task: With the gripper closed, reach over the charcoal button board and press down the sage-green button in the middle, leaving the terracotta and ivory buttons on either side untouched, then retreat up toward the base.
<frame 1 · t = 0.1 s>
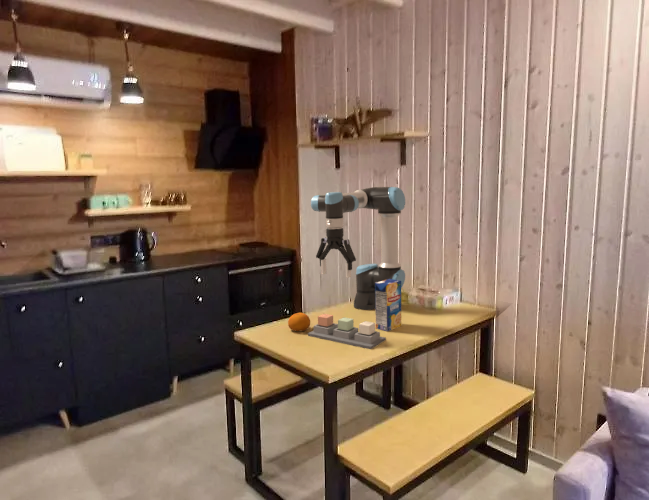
hand: (335, 275, 216), 28 cm above the table, fingers open, 13 cm apart
button board: (346, 337, 218), on the table
button ivory: (367, 327, 210), point 6 cm above the table, slide at 0.0 cm
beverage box: (388, 327, 231), on the table
button terracotta: (325, 320, 223), point 6 cm above the table, slide at 0.0 cm
button sage: (345, 323, 217), point 6 cm above the table, slide at 0.0 cm
fruit: (299, 330, 231), on the table
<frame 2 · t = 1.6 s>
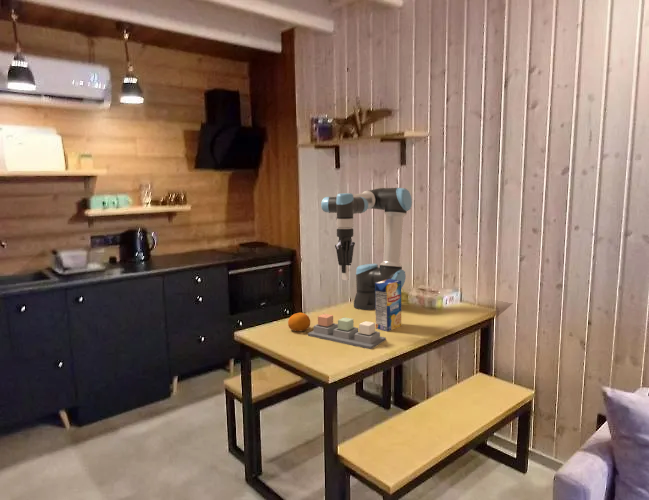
hand: (345, 279, 222), 25 cm above the table, fingers closed
nothing on the table moved.
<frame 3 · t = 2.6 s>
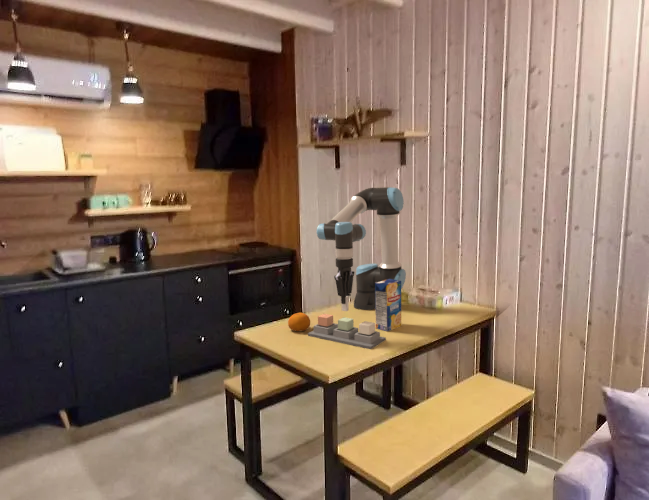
hand: (345, 310, 215), 13 cm above the table, fingers closed
nothing on the table moved.
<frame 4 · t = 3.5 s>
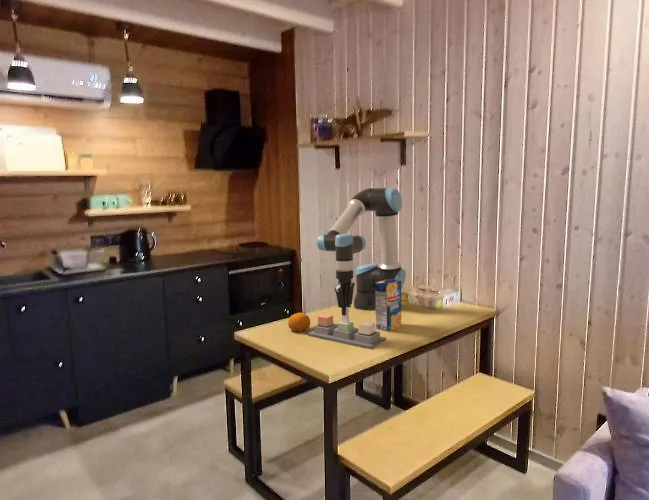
hand: (345, 321, 216), 8 cm above the table, fingers closed
button sage: (345, 326, 217), point 5 cm above the table, slide at 1.2 cm, touching gripper
everything else where it was.
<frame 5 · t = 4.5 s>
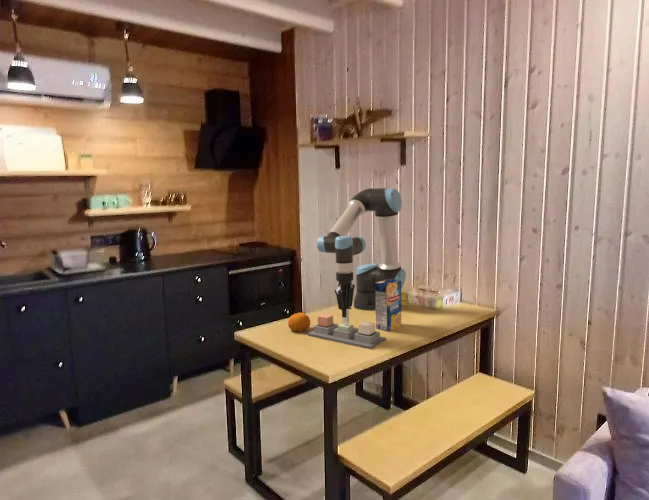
hand: (345, 323, 217), 7 cm above the table, fingers closed
button sage: (345, 329, 217), point 4 cm above the table, slide at 2.6 cm
everything else where it was.
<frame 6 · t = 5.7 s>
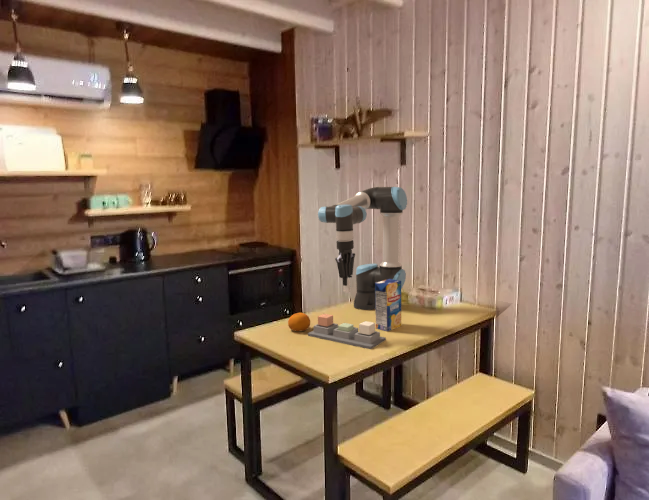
hand: (346, 291, 219), 20 cm above the table, fingers closed
nothing on the table moved.
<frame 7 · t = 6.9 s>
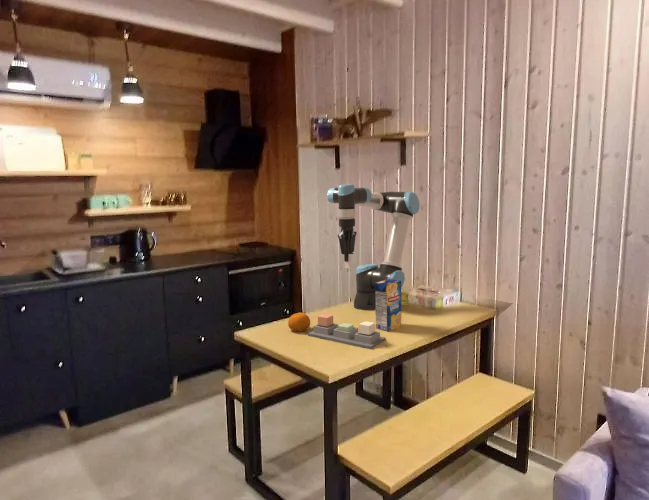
hand: (348, 267, 230), 28 cm above the table, fingers closed
nothing on the table moved.
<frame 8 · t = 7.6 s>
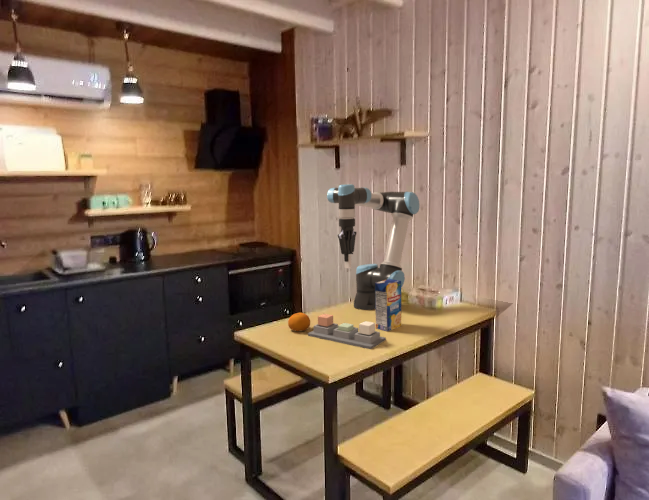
hand: (347, 267, 230), 28 cm above the table, fingers closed
nothing on the table moved.
at the end: button sage slide at 2.6 cm; button terracotta slide at 0.0 cm; button ivory slide at 0.0 cm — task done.
